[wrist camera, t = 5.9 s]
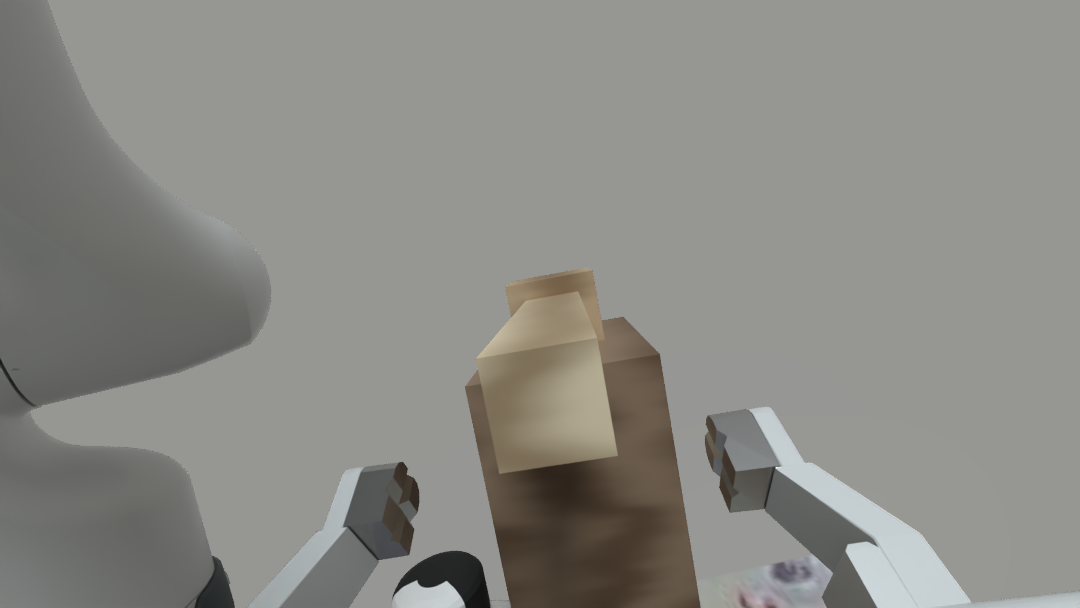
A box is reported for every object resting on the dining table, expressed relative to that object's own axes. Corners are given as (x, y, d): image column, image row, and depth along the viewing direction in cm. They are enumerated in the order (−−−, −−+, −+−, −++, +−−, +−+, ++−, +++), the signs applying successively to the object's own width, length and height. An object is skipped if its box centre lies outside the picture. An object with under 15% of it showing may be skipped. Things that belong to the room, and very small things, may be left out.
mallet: (461, 479, 11) (428, 326, 11) (527, 335, 31) (516, 280, 30) (658, 449, 11) (631, 289, 10) (596, 323, 30) (587, 267, 30)
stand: (564, 864, 23) (465, 386, 20) (564, 654, 34) (501, 338, 32) (739, 850, 22) (659, 354, 19) (677, 641, 34) (623, 316, 31)
